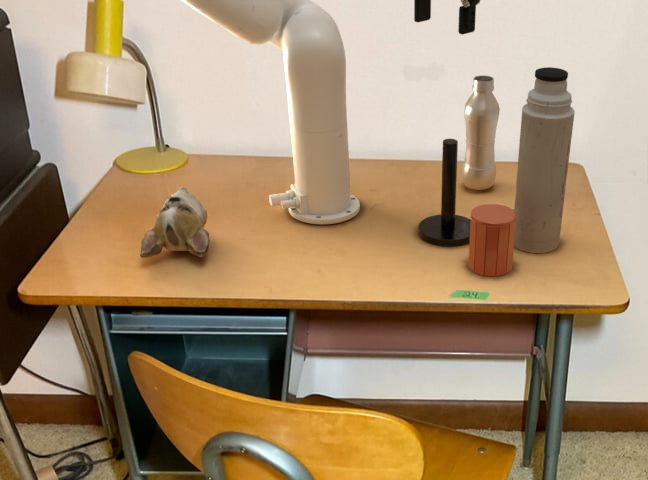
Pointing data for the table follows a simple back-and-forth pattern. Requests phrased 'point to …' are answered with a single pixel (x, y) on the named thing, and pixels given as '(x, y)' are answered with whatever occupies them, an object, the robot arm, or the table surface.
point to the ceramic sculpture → (178, 227)
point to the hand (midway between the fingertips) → (444, 26)
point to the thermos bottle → (543, 162)
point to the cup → (491, 239)
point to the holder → (447, 207)
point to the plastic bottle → (480, 135)
